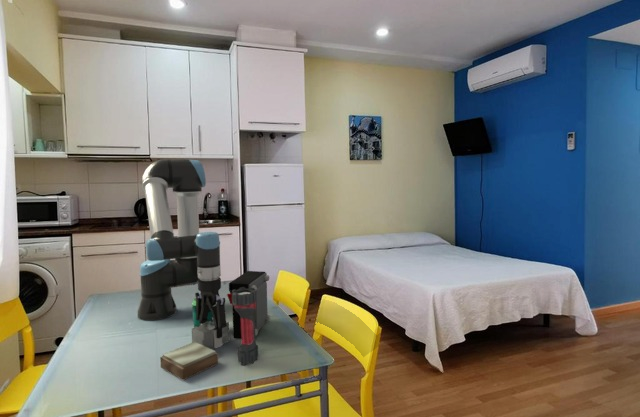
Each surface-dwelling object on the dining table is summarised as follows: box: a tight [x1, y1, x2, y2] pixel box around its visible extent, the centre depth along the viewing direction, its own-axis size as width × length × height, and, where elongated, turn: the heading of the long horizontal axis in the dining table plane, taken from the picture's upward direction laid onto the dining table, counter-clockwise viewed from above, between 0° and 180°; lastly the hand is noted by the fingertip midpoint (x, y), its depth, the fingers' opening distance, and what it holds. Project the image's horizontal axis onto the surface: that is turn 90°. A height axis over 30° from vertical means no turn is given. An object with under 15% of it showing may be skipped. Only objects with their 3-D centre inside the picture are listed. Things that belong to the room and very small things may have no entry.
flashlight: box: [231, 287, 259, 366], centre depth 117 cm, size 8×8×23 cm
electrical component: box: [226, 270, 271, 340], centre depth 142 cm, size 18×10×20 cm, turn 168°
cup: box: [191, 297, 213, 328], centre depth 143 cm, size 8×8×12 cm
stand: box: [160, 342, 219, 381], centre depth 116 cm, size 12×12×4 cm
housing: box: [191, 318, 231, 350], centre depth 130 cm, size 6×11×8 cm, turn 146°
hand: (211, 343), depth 130 cm, fingers open, 6 cm apart
